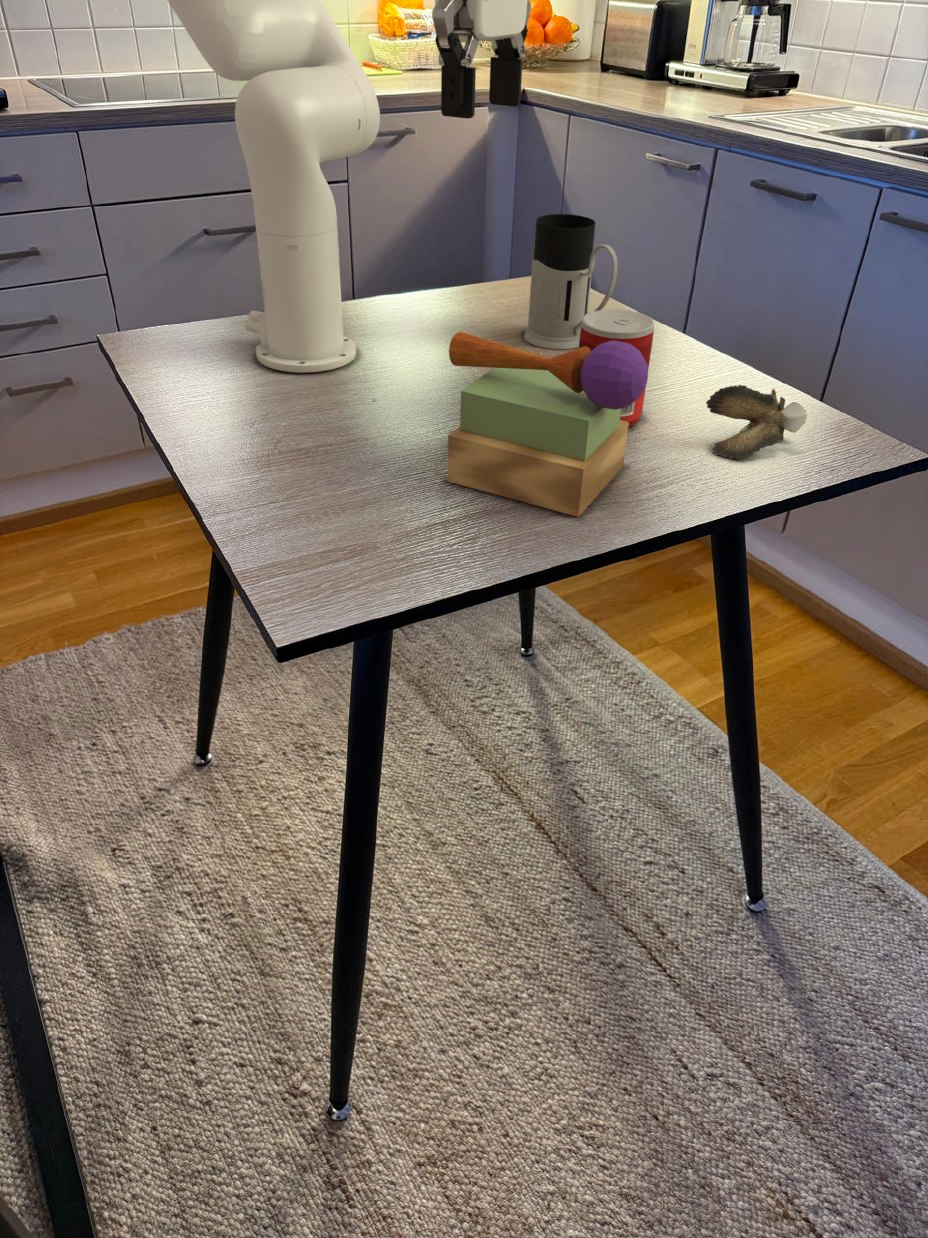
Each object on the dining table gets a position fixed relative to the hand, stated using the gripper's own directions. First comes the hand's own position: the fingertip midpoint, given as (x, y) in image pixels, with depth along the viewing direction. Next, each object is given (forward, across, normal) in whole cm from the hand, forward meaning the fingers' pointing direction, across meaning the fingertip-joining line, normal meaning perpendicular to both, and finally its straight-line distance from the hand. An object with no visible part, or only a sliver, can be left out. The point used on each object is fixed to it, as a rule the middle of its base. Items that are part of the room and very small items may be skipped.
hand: (482, 110), depth 89 cm
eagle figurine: (+31, -7, +30) cm, 43 cm away
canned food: (+31, -6, +14) cm, 34 cm away
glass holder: (+31, -26, +1) cm, 40 cm away
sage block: (+25, +11, +13) cm, 30 cm away
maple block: (+30, +11, +13) cm, 35 cm away
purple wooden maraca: (+22, +11, +13) cm, 27 cm away
